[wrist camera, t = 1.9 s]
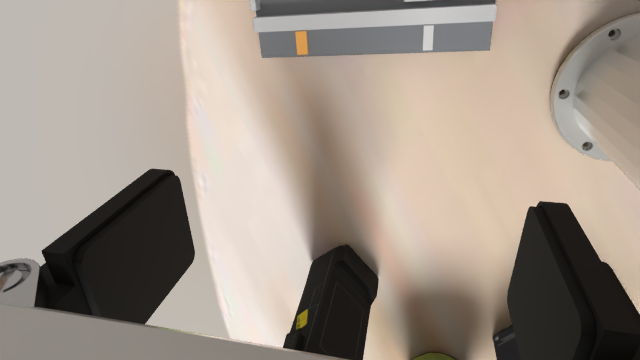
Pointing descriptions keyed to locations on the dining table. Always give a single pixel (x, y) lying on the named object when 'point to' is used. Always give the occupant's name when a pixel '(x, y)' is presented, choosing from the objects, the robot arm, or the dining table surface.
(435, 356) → the plant pot
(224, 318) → the dining table surface
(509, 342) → the small box
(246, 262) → the dining table surface
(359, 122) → the dining table surface
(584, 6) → the dining table surface
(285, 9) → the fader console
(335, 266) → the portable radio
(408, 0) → the fader tab
